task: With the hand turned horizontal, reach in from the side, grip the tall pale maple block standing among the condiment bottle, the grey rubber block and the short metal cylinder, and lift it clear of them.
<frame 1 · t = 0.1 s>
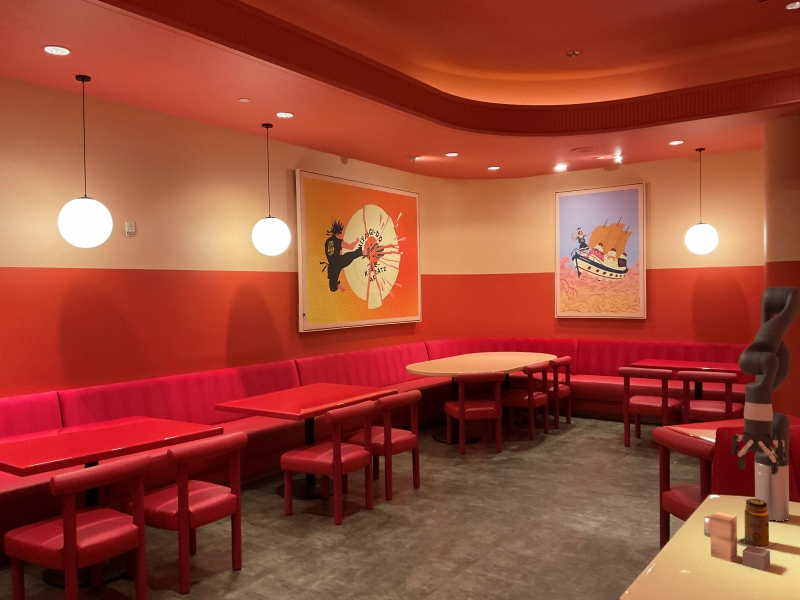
hand: (757, 471, 191), 17 cm above the table, tool pointing down, fingers open, 8 cm apart
maple block: (724, 556, 172), on the table
metal cylinder: (711, 535, 187), on the table
rubber block: (756, 565, 166), on the table
condiment: (754, 544, 180), on the table
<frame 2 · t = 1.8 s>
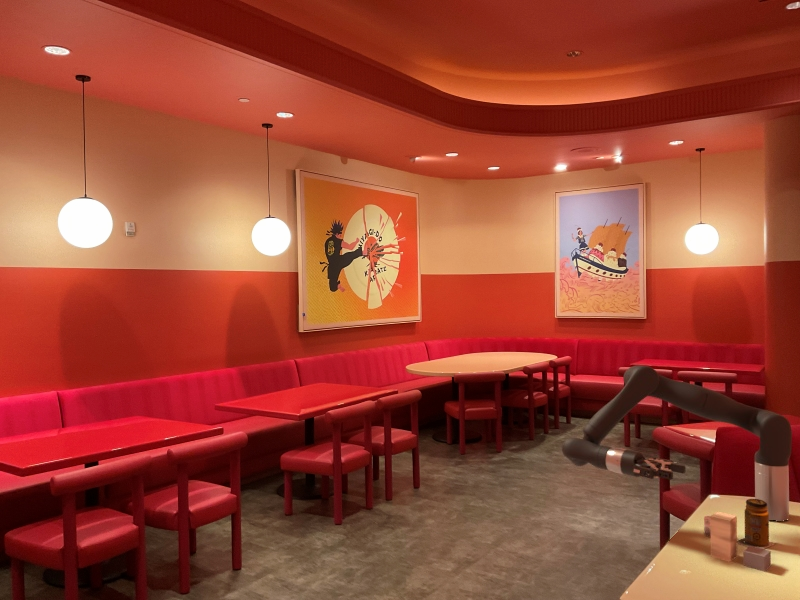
hand: (678, 472, 180), 21 cm above the table, tool horizontal, fingers open, 8 cm apart
nothing on the table moved.
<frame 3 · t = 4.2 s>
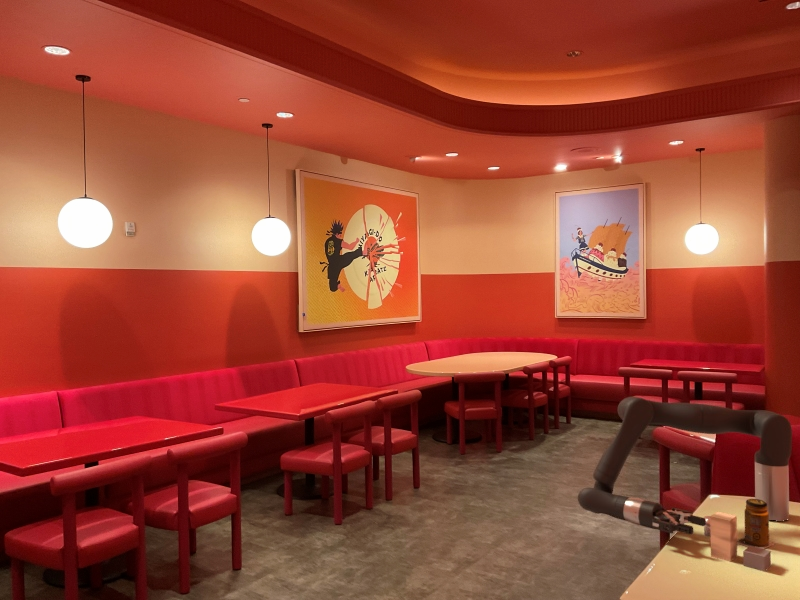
hand: (699, 526, 177), 6 cm above the table, tool horizontal, fingers open, 8 cm apart
nothing on the table moved.
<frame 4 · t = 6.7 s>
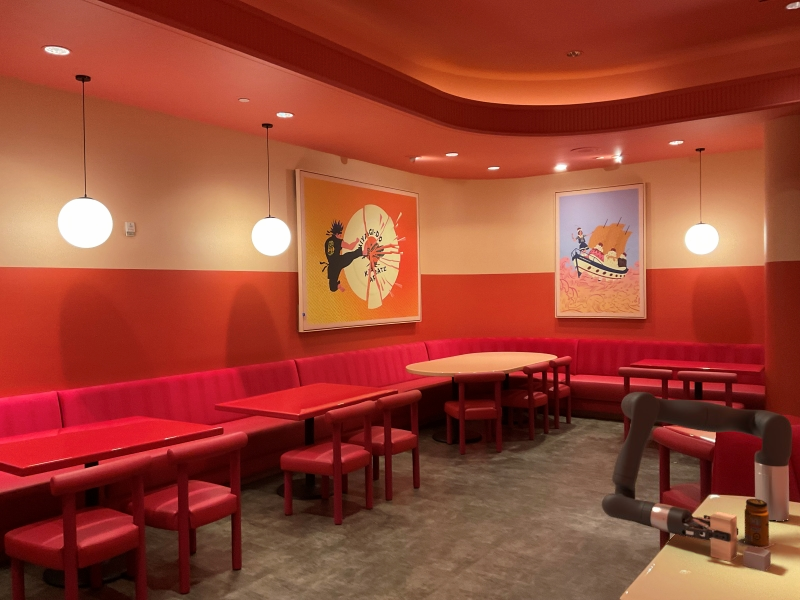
hand: (733, 534, 170), 7 cm above the table, tool horizontal, fingers closed on maple block, 5 cm apart
maple block: (724, 556, 172), on the table, touching gripper
everything else where it was.
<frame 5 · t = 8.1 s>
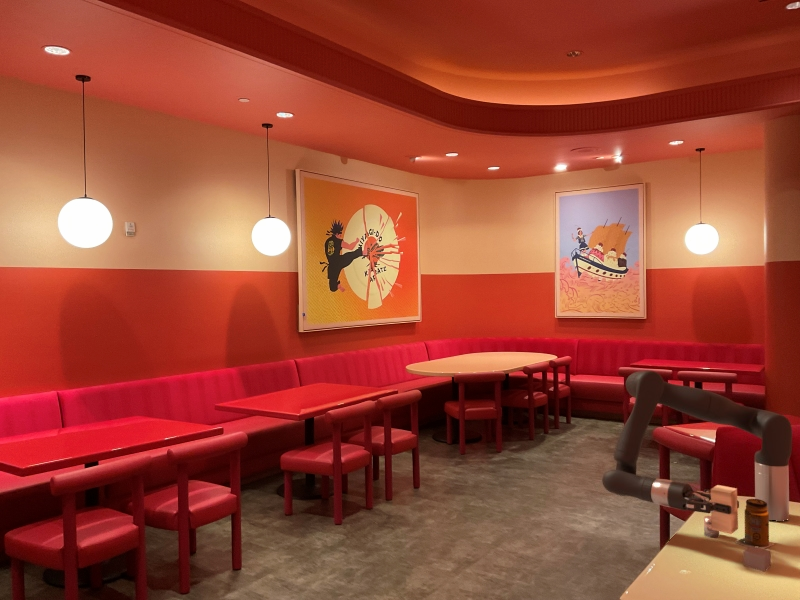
hand: (734, 507, 170), 14 cm above the table, tool horizontal, fingers closed on maple block, 5 cm apart
maple block: (724, 529, 172), point 7 cm above the table, touching gripper
everything else where it was.
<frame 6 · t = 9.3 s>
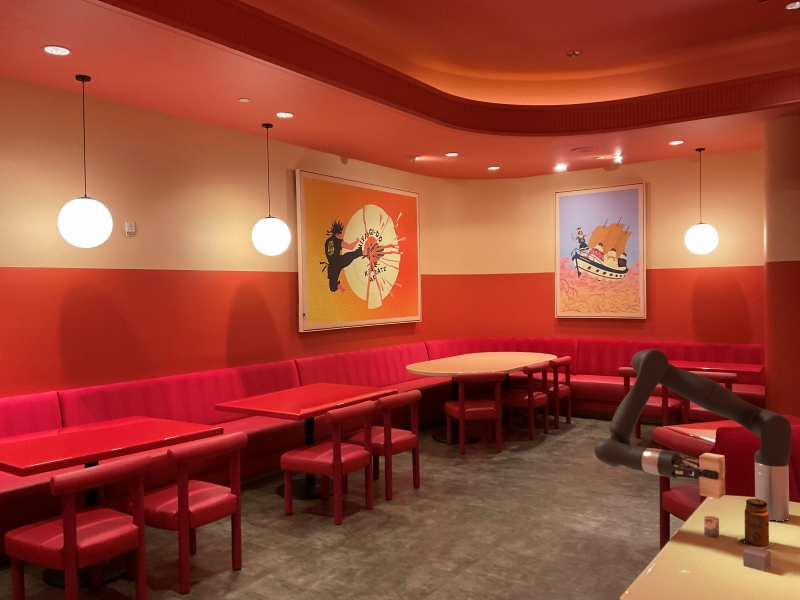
hand: (721, 473, 176), 22 cm above the table, tool horizontal, fingers closed on maple block, 5 cm apart
maple block: (712, 494, 178), point 15 cm above the table, touching gripper
everything else where it was.
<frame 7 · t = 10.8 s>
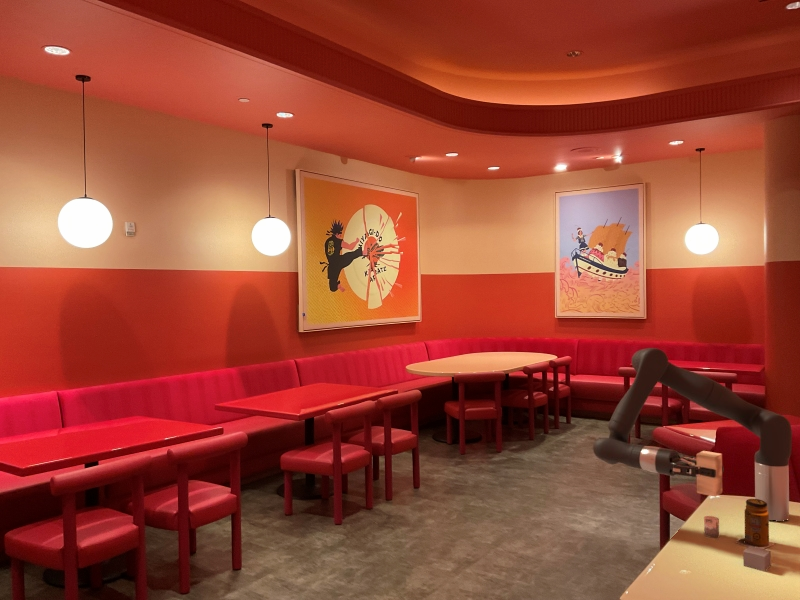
hand: (719, 471, 176), 22 cm above the table, tool horizontal, fingers closed on maple block, 5 cm apart
maple block: (709, 492, 178), point 15 cm above the table, touching gripper
everything else where it was.
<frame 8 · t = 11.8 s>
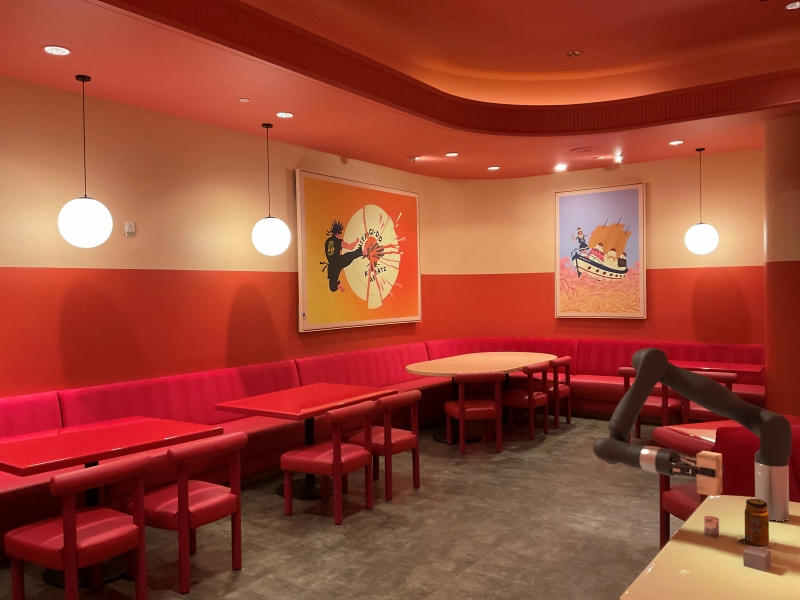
hand: (719, 471, 176), 22 cm above the table, tool horizontal, fingers closed on maple block, 5 cm apart
maple block: (709, 492, 178), point 15 cm above the table, touching gripper
everything else where it was.
at the end: the gripper is holding maple block; maple block point 15.3 cm above the table; maple block tilted 0° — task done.
